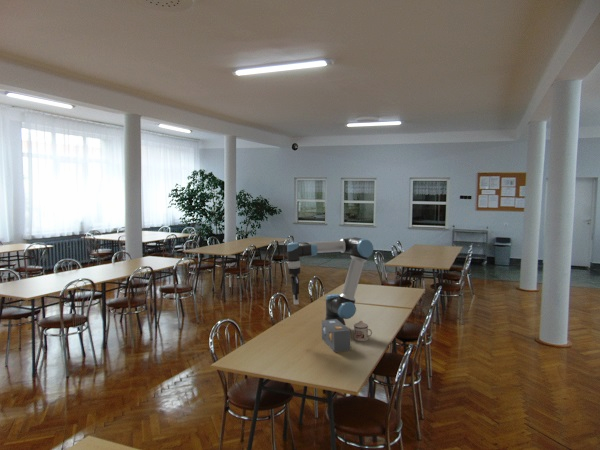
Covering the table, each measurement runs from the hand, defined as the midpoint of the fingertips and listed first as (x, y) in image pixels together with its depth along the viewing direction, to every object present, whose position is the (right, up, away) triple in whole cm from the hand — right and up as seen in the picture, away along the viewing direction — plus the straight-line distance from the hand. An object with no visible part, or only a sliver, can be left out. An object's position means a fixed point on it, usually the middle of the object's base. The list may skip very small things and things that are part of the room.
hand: (296, 304), depth 264 cm
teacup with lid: (+42, -23, +1) cm, 48 cm away
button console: (+24, -23, -7) cm, 34 cm away
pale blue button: (+19, -18, -2) cm, 27 cm away
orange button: (+22, -19, -14) cm, 32 cm away
